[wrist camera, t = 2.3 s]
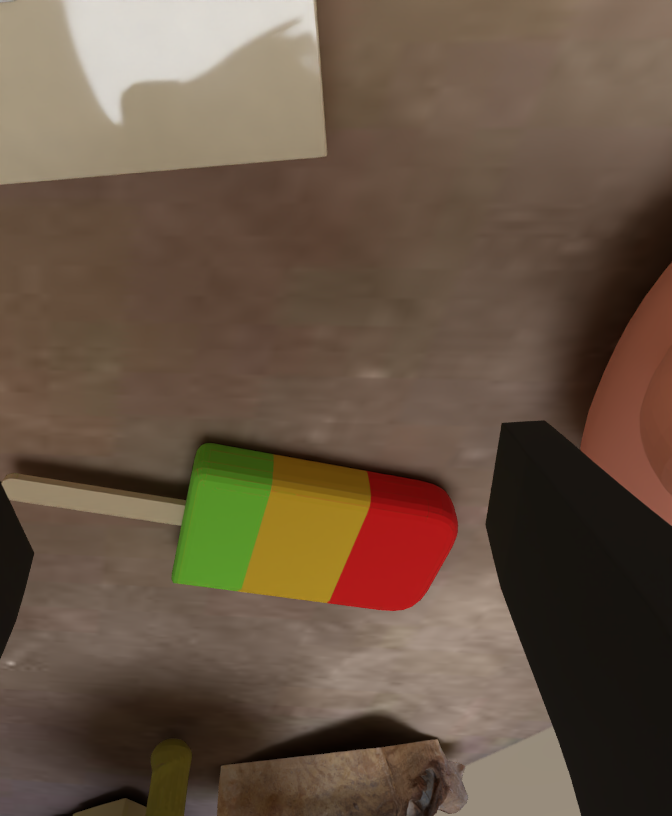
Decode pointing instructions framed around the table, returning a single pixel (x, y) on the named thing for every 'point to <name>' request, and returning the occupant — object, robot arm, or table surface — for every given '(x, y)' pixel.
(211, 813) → the table surface
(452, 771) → the crumpled paper bag
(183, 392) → the table surface
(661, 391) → the pink rounded body
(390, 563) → the popsicle
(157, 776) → the decorative mushroom
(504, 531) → the robot arm
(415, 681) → the table surface
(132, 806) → the book
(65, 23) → the beige flat block
